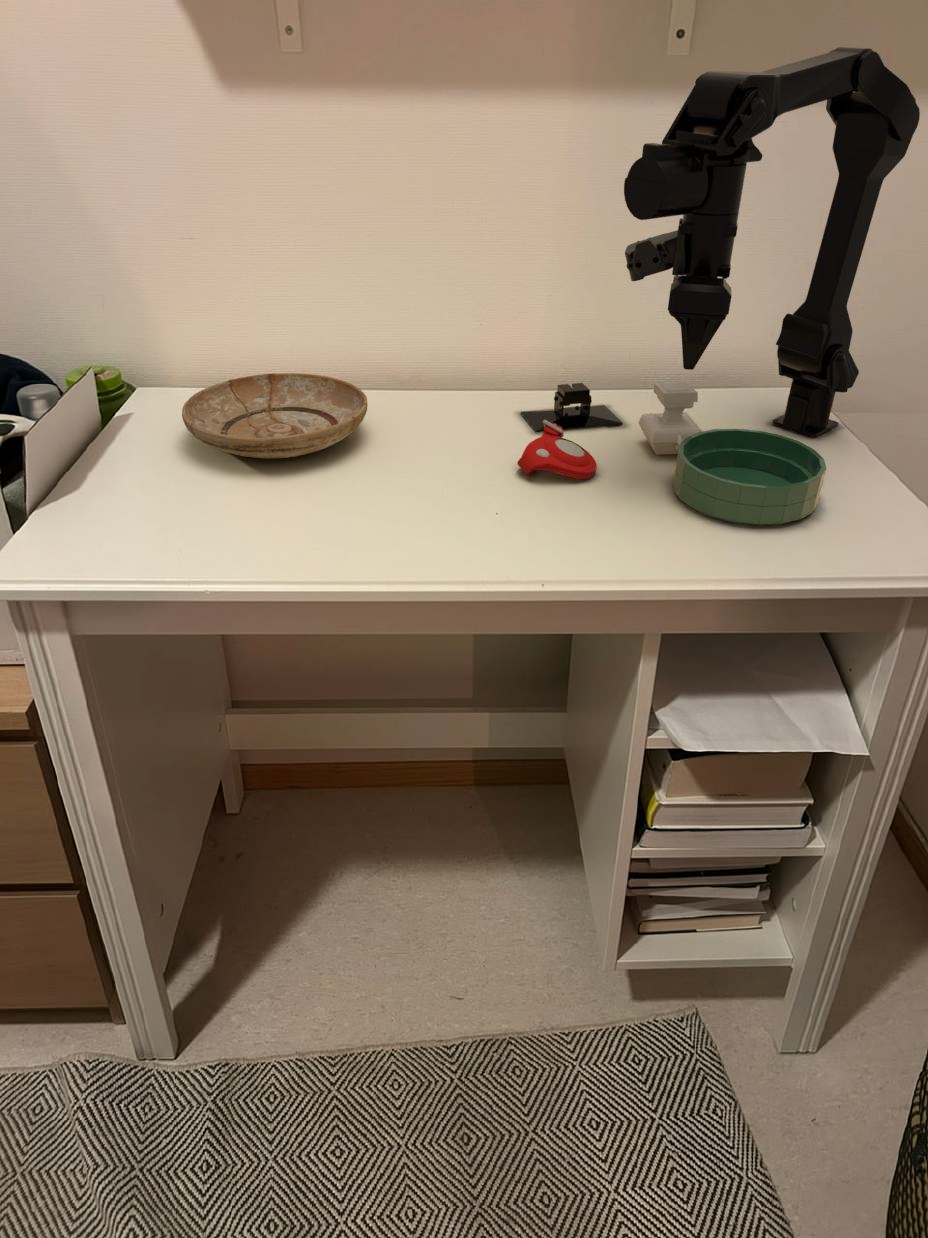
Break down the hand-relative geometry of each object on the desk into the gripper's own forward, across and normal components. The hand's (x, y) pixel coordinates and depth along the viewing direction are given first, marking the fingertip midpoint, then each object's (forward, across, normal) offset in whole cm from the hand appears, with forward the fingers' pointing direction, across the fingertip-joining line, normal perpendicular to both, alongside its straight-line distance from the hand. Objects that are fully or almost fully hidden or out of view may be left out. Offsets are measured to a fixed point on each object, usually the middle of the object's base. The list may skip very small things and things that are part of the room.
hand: (689, 356), depth 106 cm
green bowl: (+14, +6, +8) cm, 17 cm away
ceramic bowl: (+14, +4, -50) cm, 52 cm away
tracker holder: (+14, +3, -14) cm, 20 cm away
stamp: (+14, -5, -1) cm, 15 cm away
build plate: (+14, -12, -14) cm, 23 cm away
